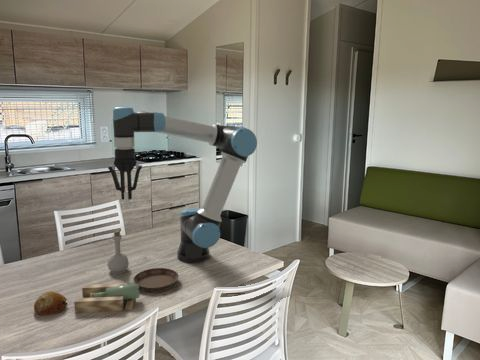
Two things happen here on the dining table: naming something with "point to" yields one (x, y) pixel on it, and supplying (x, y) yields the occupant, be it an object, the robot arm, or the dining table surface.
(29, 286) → the dining table surface
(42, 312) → the bread roll
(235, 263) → the dining table surface
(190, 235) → the robot arm
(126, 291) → the bottle
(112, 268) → the potion bottle
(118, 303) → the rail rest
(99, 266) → the dining table surface
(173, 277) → the plant saucer
